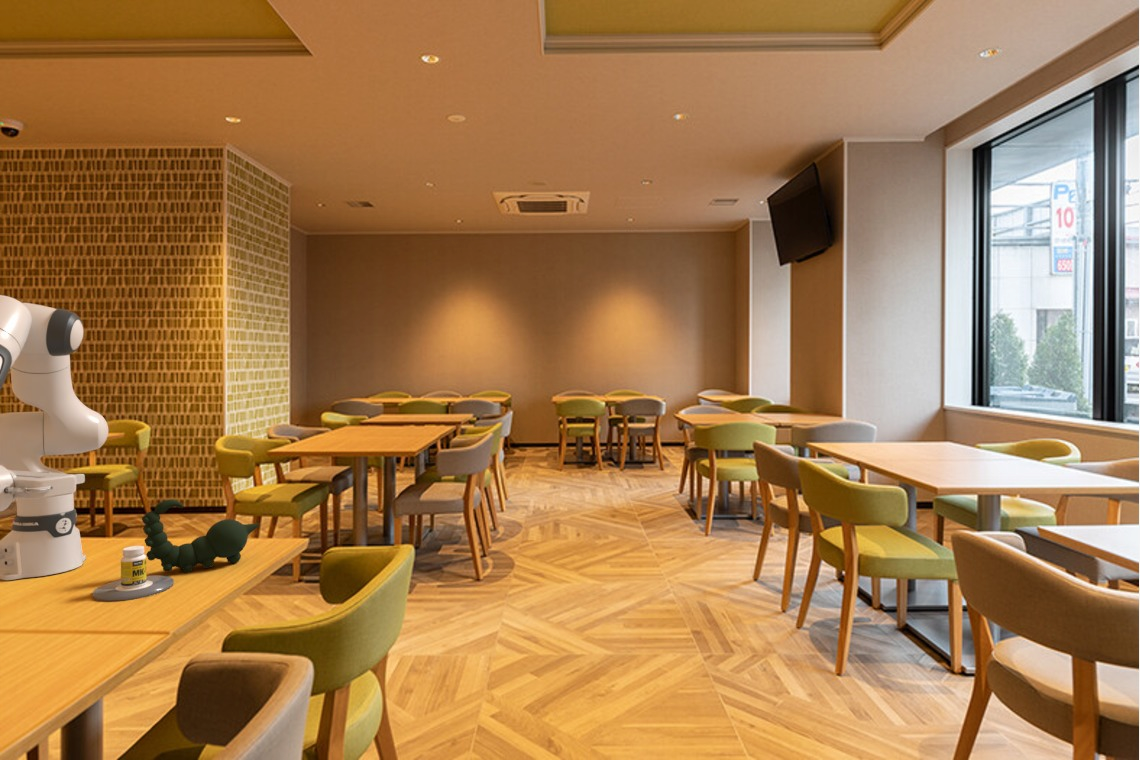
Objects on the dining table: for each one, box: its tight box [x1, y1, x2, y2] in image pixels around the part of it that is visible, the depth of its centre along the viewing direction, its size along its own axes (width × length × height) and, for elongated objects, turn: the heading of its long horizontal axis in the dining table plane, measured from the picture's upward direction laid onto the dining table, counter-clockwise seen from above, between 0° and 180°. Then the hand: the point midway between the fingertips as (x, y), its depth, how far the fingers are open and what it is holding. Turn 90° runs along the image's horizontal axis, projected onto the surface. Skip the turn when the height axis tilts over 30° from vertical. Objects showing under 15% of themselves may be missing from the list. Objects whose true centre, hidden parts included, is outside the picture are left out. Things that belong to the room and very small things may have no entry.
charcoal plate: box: [92, 575, 174, 602], centre depth 149 cm, size 15×15×1 cm
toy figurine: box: [141, 499, 260, 574], centre depth 165 cm, size 9×19×25 cm
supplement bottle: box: [120, 545, 147, 588], centre depth 148 cm, size 5×5×8 cm
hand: (64, 476), depth 134 cm, fingers open, 8 cm apart
